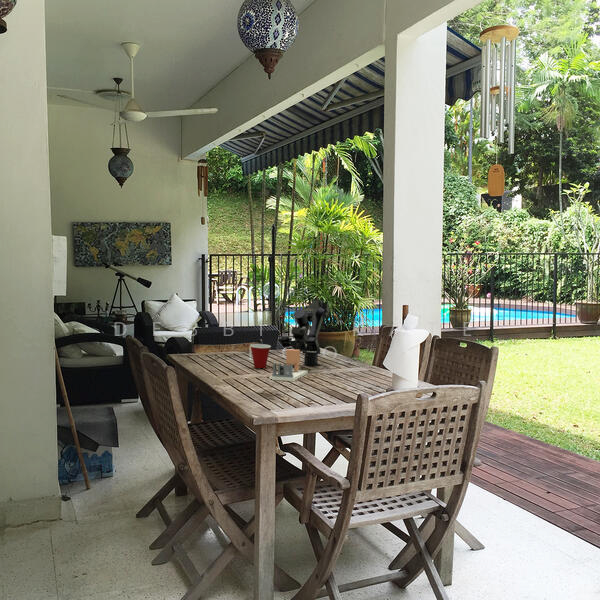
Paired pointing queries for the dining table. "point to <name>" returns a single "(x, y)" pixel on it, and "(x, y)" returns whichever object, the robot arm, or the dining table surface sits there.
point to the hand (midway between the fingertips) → (295, 355)
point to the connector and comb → (286, 369)
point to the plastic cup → (260, 354)
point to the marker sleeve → (293, 358)
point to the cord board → (295, 376)
